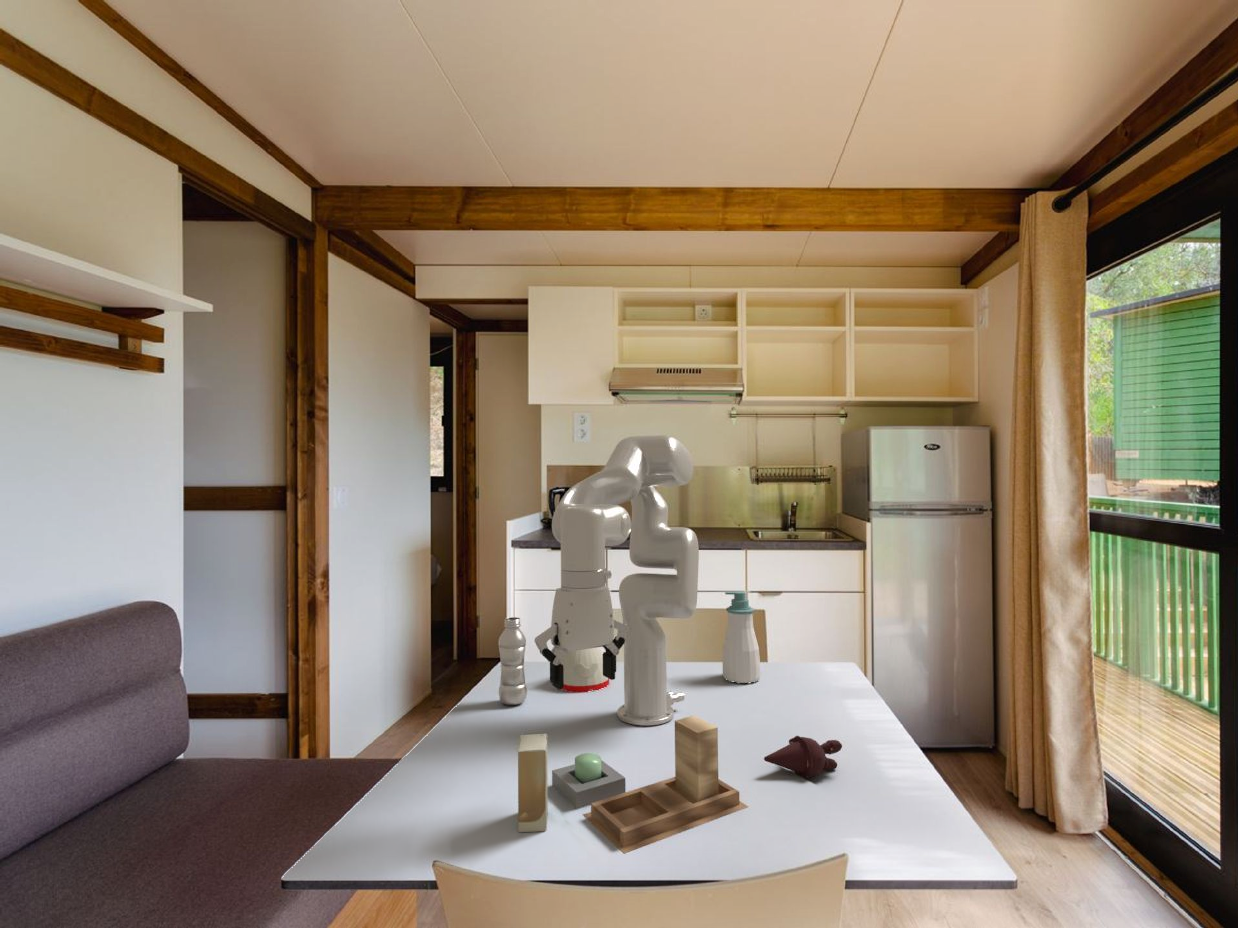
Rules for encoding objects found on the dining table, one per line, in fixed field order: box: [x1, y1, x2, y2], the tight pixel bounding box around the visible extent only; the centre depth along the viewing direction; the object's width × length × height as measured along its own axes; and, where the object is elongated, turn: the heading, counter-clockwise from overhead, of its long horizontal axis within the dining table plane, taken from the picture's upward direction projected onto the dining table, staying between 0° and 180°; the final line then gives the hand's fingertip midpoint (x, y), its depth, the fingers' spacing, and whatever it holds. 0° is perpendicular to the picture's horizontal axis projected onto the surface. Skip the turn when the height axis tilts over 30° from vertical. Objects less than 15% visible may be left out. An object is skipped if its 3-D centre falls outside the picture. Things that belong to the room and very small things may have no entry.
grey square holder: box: [551, 759, 627, 810], centre depth 103 cm, size 9×9×4 cm
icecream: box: [763, 735, 843, 780], centre depth 109 cm, size 7×7×15 cm
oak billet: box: [674, 715, 719, 804], centre depth 99 cm, size 4×6×12 cm, turn 32°
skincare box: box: [517, 733, 549, 833], centre depth 95 cm, size 6×4×12 cm
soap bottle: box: [722, 591, 761, 684], centre depth 165 cm, size 10×10×23 cm
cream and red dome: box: [561, 647, 610, 693], centre depth 162 cm, size 14×14×15 cm
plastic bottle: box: [498, 616, 528, 706], centre depth 148 cm, size 6×7×20 cm
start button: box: [574, 752, 602, 784], centre depth 103 cm, size 4×4×4 cm
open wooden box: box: [582, 776, 749, 854], centre depth 96 cm, size 23×12×3 cm, turn 121°
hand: (583, 682), depth 104 cm, fingers open, 9 cm apart
